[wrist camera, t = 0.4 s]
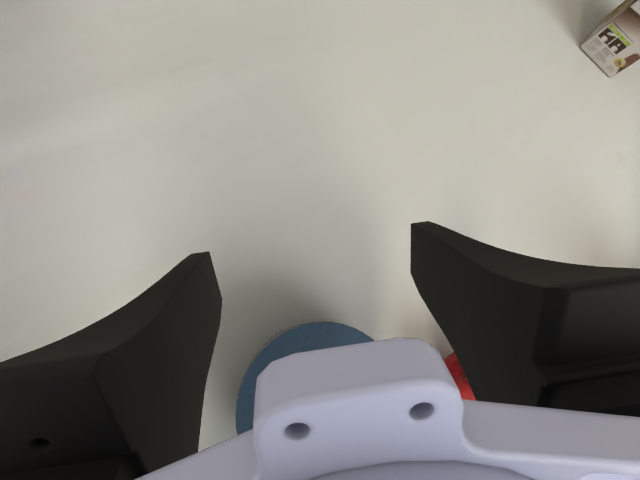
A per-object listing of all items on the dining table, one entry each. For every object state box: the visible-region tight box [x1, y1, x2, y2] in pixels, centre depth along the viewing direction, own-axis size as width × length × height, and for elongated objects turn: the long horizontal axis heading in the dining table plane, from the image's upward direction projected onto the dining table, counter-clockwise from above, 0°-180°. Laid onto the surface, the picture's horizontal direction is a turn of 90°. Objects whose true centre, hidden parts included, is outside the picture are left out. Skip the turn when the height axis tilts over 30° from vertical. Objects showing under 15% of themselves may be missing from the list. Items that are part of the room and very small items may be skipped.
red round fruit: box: [444, 352, 476, 401], centre depth 36 cm, size 6×6×8 cm
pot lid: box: [236, 322, 374, 435], centre depth 30 cm, size 14×14×5 cm
